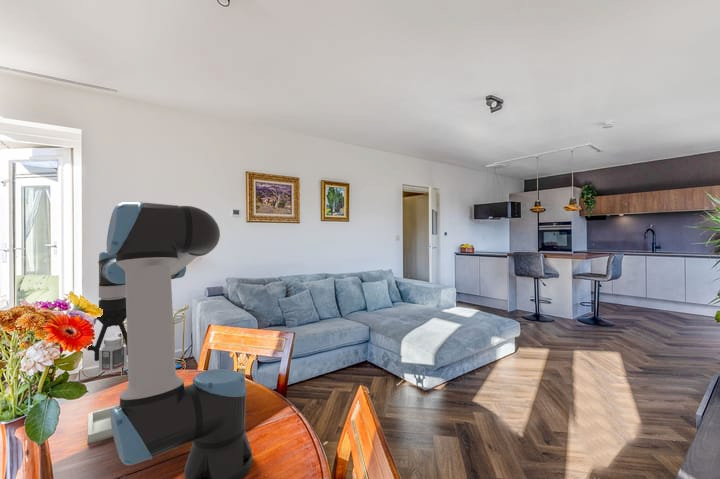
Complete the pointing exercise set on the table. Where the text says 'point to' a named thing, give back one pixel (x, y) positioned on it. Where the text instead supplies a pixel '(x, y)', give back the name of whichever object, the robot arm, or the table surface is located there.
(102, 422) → the tray
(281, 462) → the table surface
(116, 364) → the pill bottle
